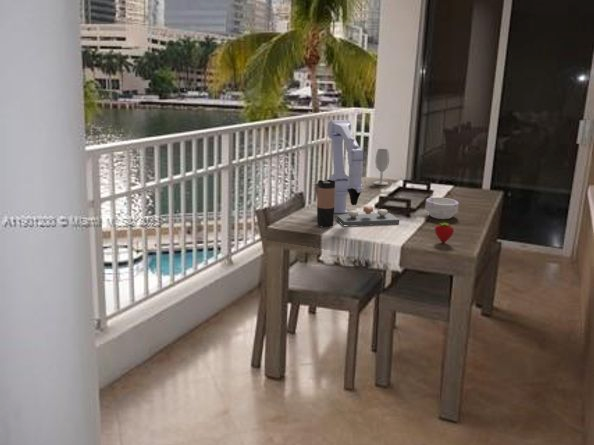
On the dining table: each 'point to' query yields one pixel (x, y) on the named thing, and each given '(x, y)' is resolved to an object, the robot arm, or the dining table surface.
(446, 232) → the strawberry
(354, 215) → the inner button
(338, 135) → the robot arm
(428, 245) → the dining table surface
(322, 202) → the travel mug
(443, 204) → the paper bowls
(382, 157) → the wineglass
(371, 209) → the middle button
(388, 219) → the grey flat board
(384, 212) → the outer button
